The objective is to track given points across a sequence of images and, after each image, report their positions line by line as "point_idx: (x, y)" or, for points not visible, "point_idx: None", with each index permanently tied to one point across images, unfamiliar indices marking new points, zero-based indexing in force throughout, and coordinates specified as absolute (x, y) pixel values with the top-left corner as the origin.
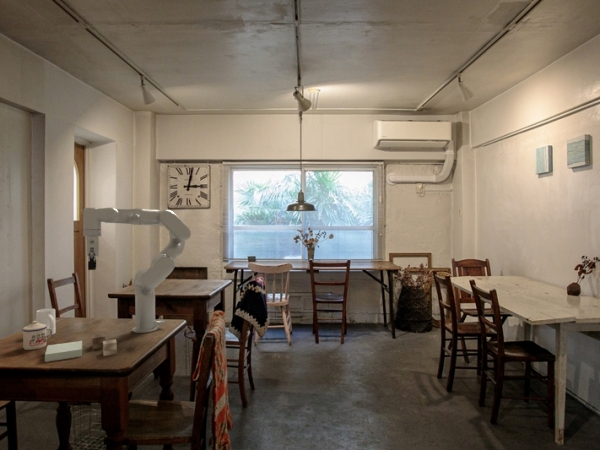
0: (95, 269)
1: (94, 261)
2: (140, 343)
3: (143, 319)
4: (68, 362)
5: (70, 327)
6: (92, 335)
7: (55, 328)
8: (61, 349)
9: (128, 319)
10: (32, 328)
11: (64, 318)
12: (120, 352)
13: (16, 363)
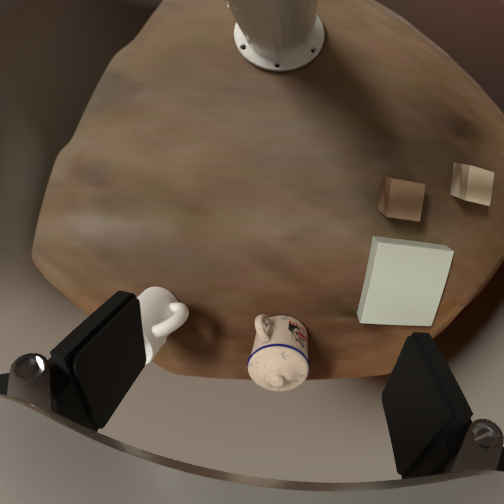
0: (426, 333)
1: (460, 426)
2: (429, 88)
3: (313, 27)
4: (462, 274)
5: (118, 247)
6: (389, 216)
7: (153, 291)
8: (421, 295)
9: (106, 82)
10: (303, 377)
11: (36, 253)
12: (473, 158)
13: (390, 360)
